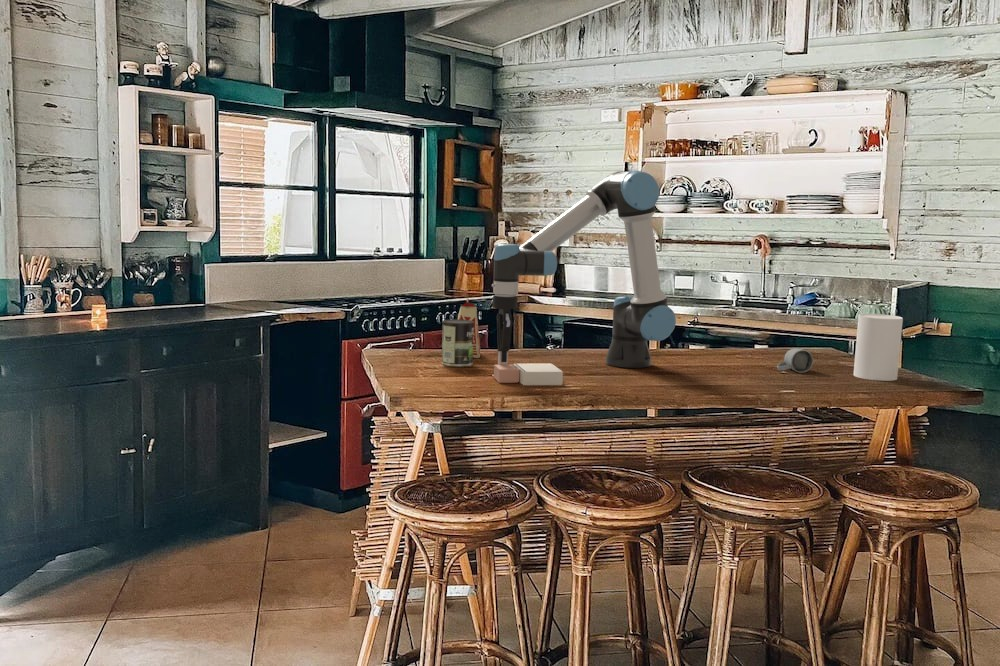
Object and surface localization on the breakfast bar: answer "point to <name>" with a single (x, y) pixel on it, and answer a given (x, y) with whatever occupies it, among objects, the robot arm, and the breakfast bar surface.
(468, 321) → the coffee can
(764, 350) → the breakfast bar surface
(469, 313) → the milk carton
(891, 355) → the canister
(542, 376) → the board
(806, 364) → the ceramic mug
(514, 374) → the stub
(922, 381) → the breakfast bar surface
